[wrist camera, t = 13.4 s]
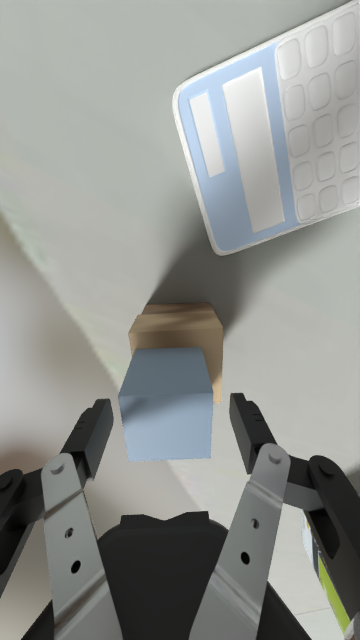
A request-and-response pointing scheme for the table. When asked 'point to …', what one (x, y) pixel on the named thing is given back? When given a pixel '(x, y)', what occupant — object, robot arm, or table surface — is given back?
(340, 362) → the table surface
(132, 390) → the blue cube
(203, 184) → the calculator
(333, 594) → the tea box
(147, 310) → the base block
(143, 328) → the top block
